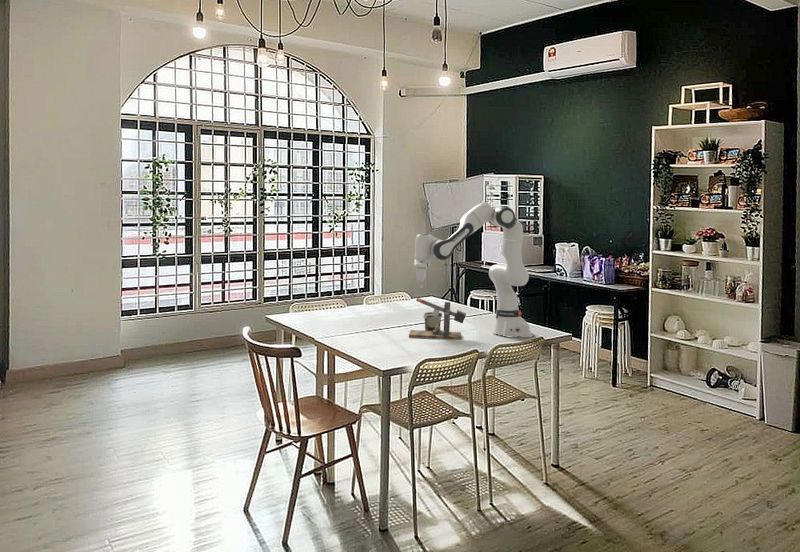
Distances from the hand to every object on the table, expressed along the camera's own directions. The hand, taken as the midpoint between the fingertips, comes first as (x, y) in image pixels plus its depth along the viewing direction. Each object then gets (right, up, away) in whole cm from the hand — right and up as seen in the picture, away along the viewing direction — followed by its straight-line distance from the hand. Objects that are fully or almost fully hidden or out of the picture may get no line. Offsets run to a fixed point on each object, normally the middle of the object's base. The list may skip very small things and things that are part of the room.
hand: (420, 288), depth 378 cm
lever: (+9, -16, +1) cm, 18 cm away
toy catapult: (+8, -26, +3) cm, 28 cm away
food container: (+6, -25, +17) cm, 31 cm away
